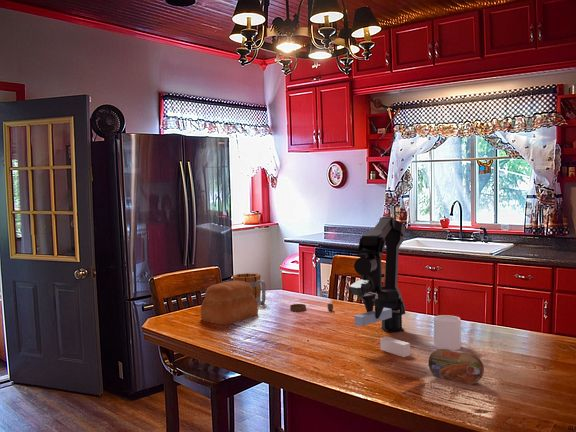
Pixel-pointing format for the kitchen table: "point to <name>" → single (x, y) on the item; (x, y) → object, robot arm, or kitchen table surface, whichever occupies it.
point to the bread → (228, 303)
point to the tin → (456, 366)
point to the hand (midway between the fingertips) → (373, 317)
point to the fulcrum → (395, 346)
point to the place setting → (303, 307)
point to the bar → (372, 317)
